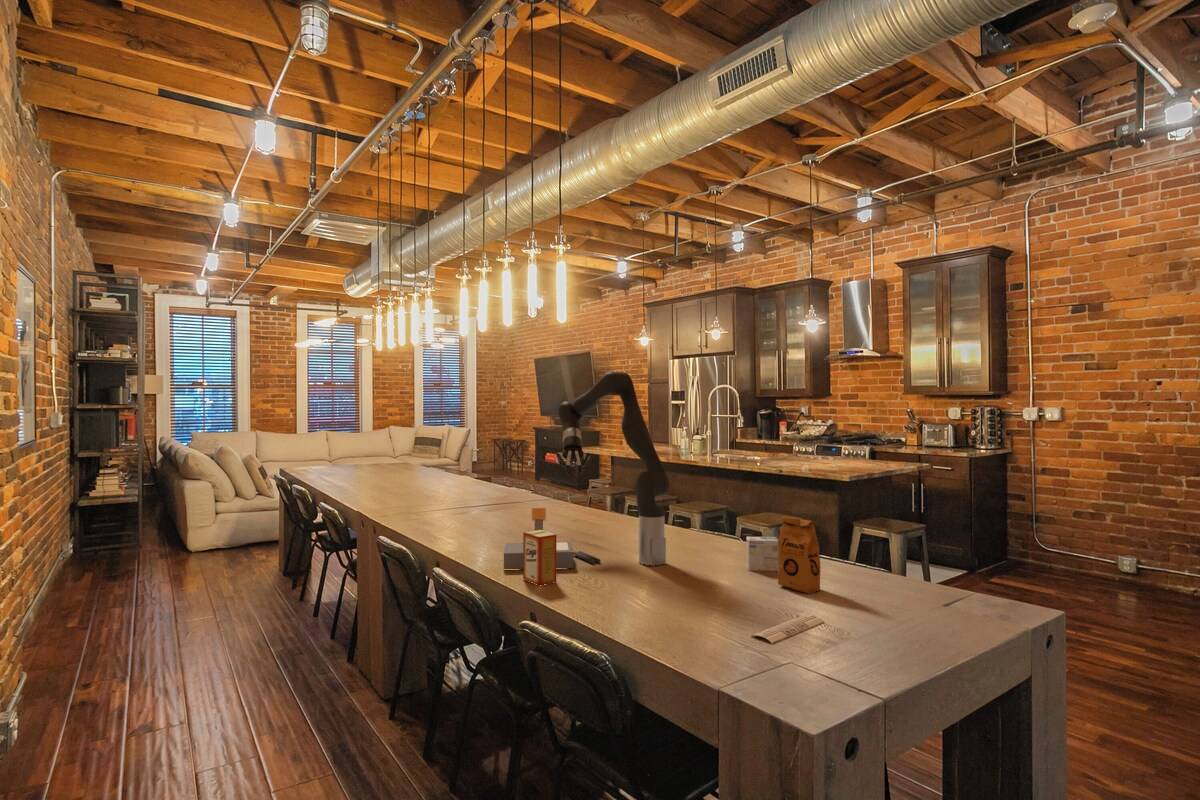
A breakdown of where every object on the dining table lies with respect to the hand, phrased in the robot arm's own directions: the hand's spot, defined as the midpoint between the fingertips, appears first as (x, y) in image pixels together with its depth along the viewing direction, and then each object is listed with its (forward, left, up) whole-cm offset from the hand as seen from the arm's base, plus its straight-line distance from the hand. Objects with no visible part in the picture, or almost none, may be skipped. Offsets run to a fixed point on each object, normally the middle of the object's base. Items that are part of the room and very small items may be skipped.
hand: (573, 474), depth 248 cm
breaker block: (-9, +19, -30) cm, 37 cm away
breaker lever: (-9, +19, -23) cm, 32 cm away
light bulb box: (-54, -46, -30) cm, 77 cm away
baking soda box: (-29, +28, -30) cm, 51 cm away
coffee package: (-77, -39, -30) cm, 92 cm away
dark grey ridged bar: (-12, +1, -30) cm, 32 cm away
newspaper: (-101, -9, -31) cm, 106 cm away
